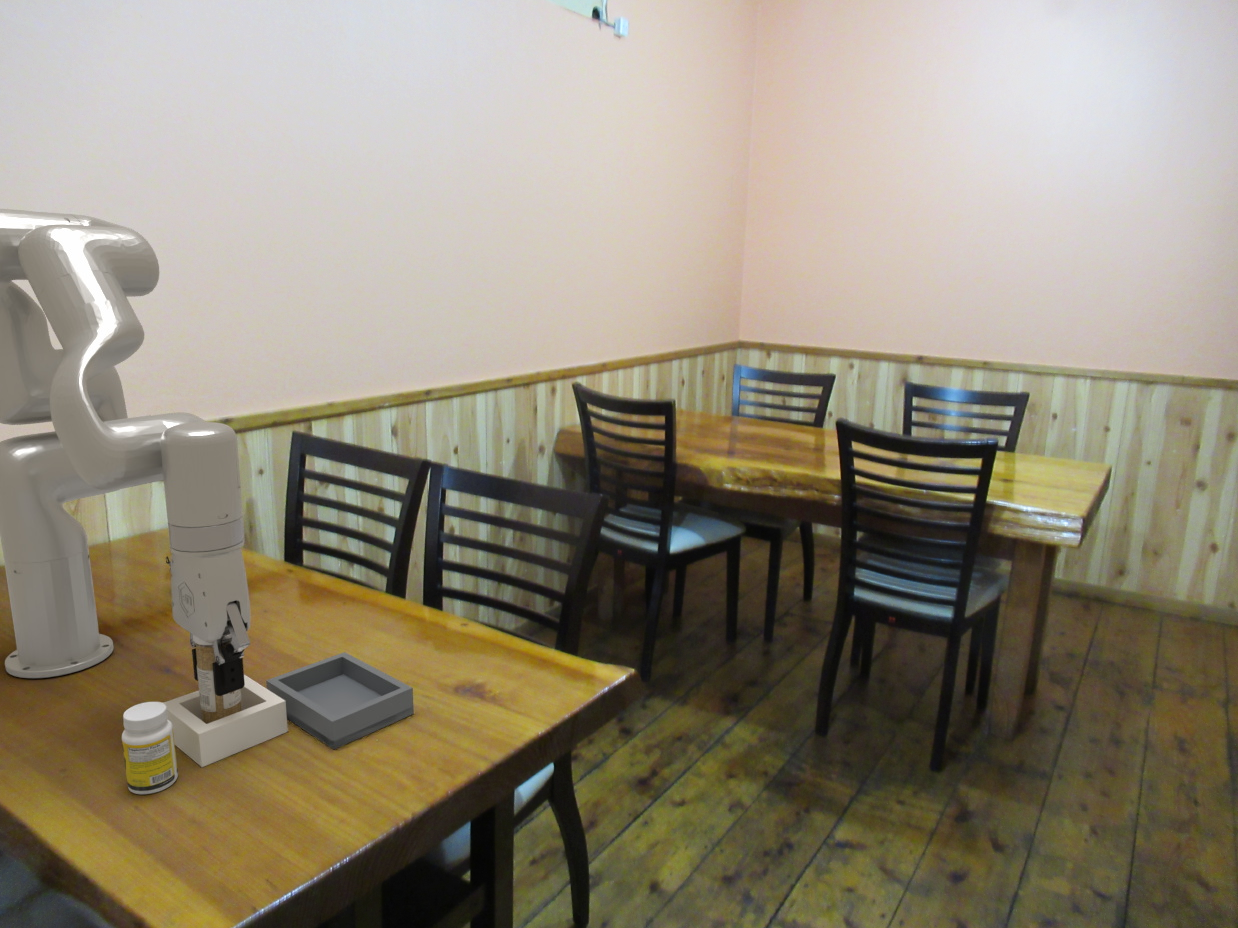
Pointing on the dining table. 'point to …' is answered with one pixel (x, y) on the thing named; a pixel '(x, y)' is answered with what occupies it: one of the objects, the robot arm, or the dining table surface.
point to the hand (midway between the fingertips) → (219, 682)
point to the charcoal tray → (342, 699)
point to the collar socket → (227, 724)
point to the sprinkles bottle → (209, 701)
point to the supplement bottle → (149, 748)
